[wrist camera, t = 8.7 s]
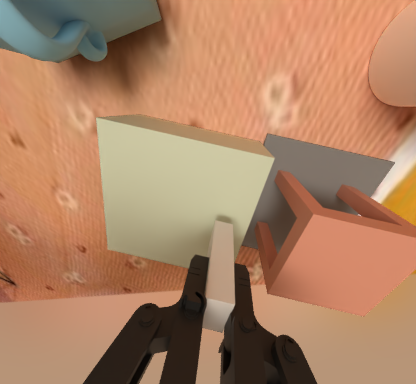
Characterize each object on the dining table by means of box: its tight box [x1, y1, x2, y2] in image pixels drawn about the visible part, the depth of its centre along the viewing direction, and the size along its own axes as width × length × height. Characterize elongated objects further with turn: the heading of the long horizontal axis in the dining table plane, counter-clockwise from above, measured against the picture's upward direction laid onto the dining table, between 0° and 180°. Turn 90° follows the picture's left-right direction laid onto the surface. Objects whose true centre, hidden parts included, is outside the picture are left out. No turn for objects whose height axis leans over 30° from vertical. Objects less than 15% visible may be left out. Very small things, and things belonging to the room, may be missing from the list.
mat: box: [242, 133, 395, 254], centre depth 22 cm, size 14×16×1 cm
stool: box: [254, 170, 416, 316], centre depth 18 cm, size 10×9×9 cm
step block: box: [96, 114, 275, 269], centre depth 20 cm, size 14×14×7 cm
